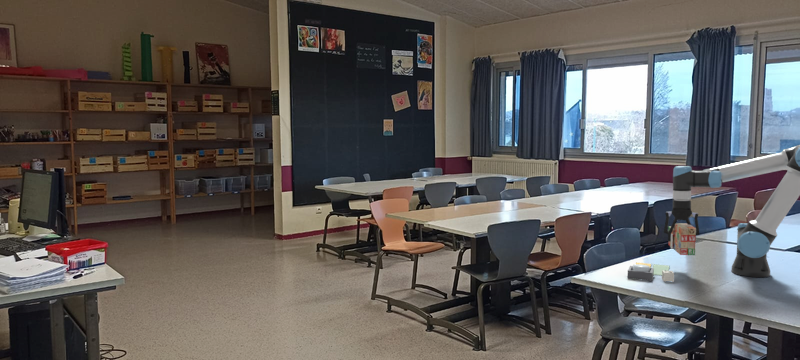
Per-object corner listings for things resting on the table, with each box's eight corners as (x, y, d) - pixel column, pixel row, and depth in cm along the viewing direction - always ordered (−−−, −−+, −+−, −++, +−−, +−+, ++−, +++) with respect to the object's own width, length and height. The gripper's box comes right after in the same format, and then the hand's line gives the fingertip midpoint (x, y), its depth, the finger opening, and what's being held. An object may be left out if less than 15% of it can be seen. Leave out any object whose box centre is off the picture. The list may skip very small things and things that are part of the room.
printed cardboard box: (667, 245, 272) (668, 219, 271) (682, 245, 271) (682, 220, 270) (680, 255, 251) (680, 227, 250) (695, 255, 250) (696, 227, 249)
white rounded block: (649, 274, 254) (650, 265, 254) (648, 278, 248) (649, 268, 248) (633, 272, 258) (633, 263, 257) (631, 276, 251) (631, 266, 251)
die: (671, 279, 248) (672, 270, 248) (673, 282, 245) (674, 272, 244) (661, 279, 249) (662, 269, 249) (663, 281, 245) (664, 272, 245)
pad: (651, 264, 277) (651, 263, 277) (648, 274, 258) (648, 273, 258) (636, 263, 281) (636, 262, 281) (631, 272, 261) (631, 271, 261)
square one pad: (669, 266, 274) (669, 265, 274) (667, 276, 254) (667, 275, 254) (653, 264, 277) (653, 264, 277) (650, 274, 258) (650, 273, 257)
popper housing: (653, 275, 255) (653, 268, 255) (652, 280, 246) (652, 272, 246) (629, 273, 260) (630, 265, 259) (627, 278, 251) (627, 270, 251)
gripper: (706, 199, 258) (706, 249, 259) (658, 198, 267) (657, 246, 269) (707, 201, 251) (706, 252, 253) (657, 199, 261) (656, 249, 262)
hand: (681, 249), depth 261 cm, fingers closed on printed cardboard box, 7 cm apart
